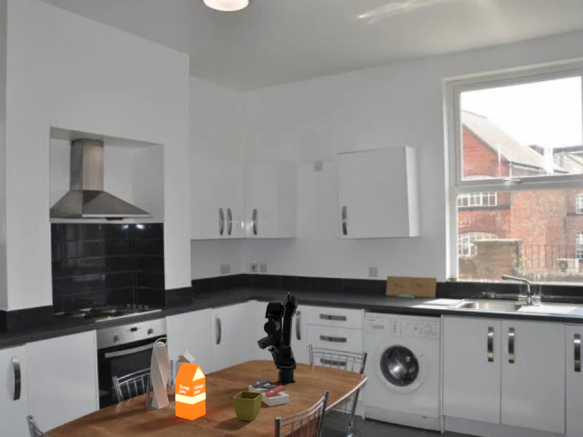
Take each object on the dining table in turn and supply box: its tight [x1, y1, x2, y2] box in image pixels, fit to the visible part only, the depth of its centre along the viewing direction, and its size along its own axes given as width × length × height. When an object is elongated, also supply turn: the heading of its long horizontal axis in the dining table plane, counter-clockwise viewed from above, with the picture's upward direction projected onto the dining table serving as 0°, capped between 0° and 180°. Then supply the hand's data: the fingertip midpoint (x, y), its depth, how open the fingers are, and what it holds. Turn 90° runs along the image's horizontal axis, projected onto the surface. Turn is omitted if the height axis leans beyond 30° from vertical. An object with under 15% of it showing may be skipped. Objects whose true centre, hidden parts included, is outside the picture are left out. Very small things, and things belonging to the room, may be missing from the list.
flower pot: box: [232, 390, 263, 422], centre depth 203 cm, size 9×9×9 cm
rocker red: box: [265, 384, 286, 397], centre depth 223 cm, size 8×4×1 cm, turn 118°
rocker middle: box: [258, 384, 278, 389], centre depth 229 cm, size 8×4×1 cm, turn 118°
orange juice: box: [175, 363, 207, 421], centre depth 208 cm, size 8×9×20 cm
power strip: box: [248, 383, 290, 407], centre depth 231 cm, size 9×28×3 cm, turn 28°
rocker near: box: [251, 378, 272, 388], centre depth 235 cm, size 8×4×1 cm, turn 118°
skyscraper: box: [145, 337, 170, 411], centre depth 219 cm, size 8×8×28 cm
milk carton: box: [174, 349, 197, 390], centre depth 235 cm, size 7×7×19 cm
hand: (276, 365), depth 235 cm, fingers closed
